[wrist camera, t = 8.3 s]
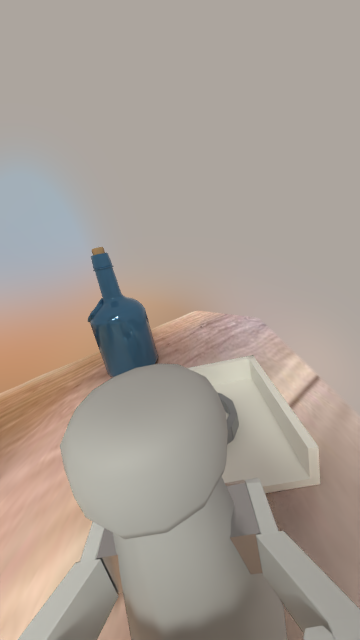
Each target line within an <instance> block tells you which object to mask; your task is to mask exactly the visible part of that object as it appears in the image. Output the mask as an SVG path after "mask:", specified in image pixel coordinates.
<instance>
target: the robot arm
mask: <svg viewBox="0 0 360 640" xmlns="http://www.w3.org/2000/svg"><path fill="white" fill-rule="evenodd" d="M225 485H226V487H227V489H228V491H229V493H230V495H231V497H232V499H233V501H234V503H235V504H234V509H233V513H232V518H231V535H230V539H231V541H232V543H233V544H234V546H235V548H236V549H237V551H238V553H239V554H240V556H241V558H242V560H243V562H244V563H245V565H246V567H247V569H248V571H249V573H250V574H259V573H263V576H264V577H265V579H266V580H267V581H268V583H269V584H270V586H271V587H272V589H273V590H274V592H275V593H276V594H277V596H278V597H279V599H280V600H281V602H282V603H283V604H284V606H285V607H286V609H287V610H288V612H289V613H290V614H291V616H292V617H293V619H294V620H295V622H296V623H297V624H298V626H299V627H300V629H301V630H302V632H303V633H304V637H303V638H304V640H360V609H359V608H358V607H357V606H356V605H355V604H354V603H353V602H352V601H351V600H350V599H349V598H348V596H347V595H346V594H345V593H344V592H343V591H342V590H341V589H340V588H339V587H338V586H337V585H336V584H335V583H334V582H333V581H332V580H331V579H330V578H329V577H328V576H327V575H326V574H325V573H324V572H323V571H322V570H321V569H320V568H319V567H318V566H317V565H316V564H315V563H314V562H313V561H312V560H311V559H310V558H309V556H308V555H307V554H306V553H305V552H304V551H303V550H302V549H301V548H300V547H299V546H298V545H297V544H296V543H295V542H294V541H293V540H292V539H291V538H290V537H289V536H288V535H287V534H286V533H285V532H284V531H278V528H277V525H276V522H275V519H274V517H273V514H272V511H271V508H270V506H269V503H268V500H267V497H266V495H265V492H264V489H263V486H262V484H261V481H260V479H259V478H253V479H247V480H239V481H233V482H228V483H225ZM121 593H123V589H122V583H121V577H120V571H119V561H118V554H117V553H116V548H115V542H114V536H113V533H112V532H111V531H109V530H107V529H105V528H103V527H102V526H100V525H98V524H96V523H95V522H92V525H91V529H90V532H89V535H88V538H87V541H86V544H85V547H84V550H83V554H82V557H81V560H80V562H76V563H75V564H74V565H73V567H72V568H71V569H70V571H69V572H68V573H67V575H66V576H65V577H64V579H63V580H62V581H61V583H60V584H59V585H58V587H57V588H56V589H55V591H54V592H53V593H52V595H51V596H50V597H49V599H48V600H47V601H46V603H45V604H44V605H43V607H42V608H41V609H40V611H39V612H38V613H37V615H36V616H35V617H34V619H33V620H32V621H31V623H30V624H29V625H28V627H27V628H26V629H25V631H24V632H23V633H22V635H21V636H20V637H19V639H18V640H97V639H98V636H99V634H100V632H101V630H102V628H103V626H104V624H105V622H106V620H107V618H108V616H109V614H110V612H111V610H112V608H113V606H114V604H115V602H116V600H117V598H118V594H121Z"/></svg>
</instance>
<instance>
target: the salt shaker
mask: <svg viewBox="0 0 360 640" xmlns="http://www.w3.org/2000/svg"><path fill="white" fill-rule="evenodd" d="M227 437H228V430H227V420H226V412H225V410H224V407H223V405H222V403H221V400H220V398H219V395H218V393H217V392H216V390H215V389H214V387H213V386H212V385H211V383H210V382H209V380H208V379H207V378H206V377H205V376H203V375H201V374H199V373H197V372H194V371H192V370H190V369H188V368H185V367H183V366H181V365H179V364H153V365H148V366H143V367H138V368H134V369H132V370H129V371H127V372H125V373H122V374H120V375H117V376H115V377H113V378H111V379H110V380H108V381H107V382H105V383H103V384H102V385H100V386H99V387H97V388H96V389H94V390H93V391H92V392H91V393H90V394H89V395H88V396H87V397H86V398H85V399H84V400H83V401H82V402H81V404H80V405H79V406H78V407H77V408H76V410H75V412H74V414H73V416H72V417H71V419H70V422H69V424H68V427H67V429H66V432H65V434H64V437H63V439H62V442H61V444H60V449H61V454H62V459H63V464H64V469H65V472H66V475H67V478H68V480H69V483H70V486H71V489H72V492H73V495H74V498H75V499H76V501H77V503H78V505H79V506H80V508H81V510H82V511H83V513H84V515H85V517H86V518H88V519H90V520H91V521H93V522H95V523H96V524H98V525H100V526H102V527H103V528H105V529H107V530H109V531H111V532H112V533H113V536H114V542H115V548H116V553H117V554H118V561H119V571H120V577H121V583H122V589H123V594H124V600H125V606H126V612H127V618H128V623H129V629H130V635H131V640H287V632H286V624H285V616H284V607H283V604H282V602H281V600H280V599H279V597H278V596H277V594H276V593H275V592H274V590H273V589H272V587H271V586H270V584H269V583H268V581H267V580H266V579H265V577H264V576H263V573H259V574H250V573H249V571H248V569H247V567H246V565H245V563H244V562H243V560H242V558H241V556H240V554H239V553H238V551H237V549H236V548H235V546H234V544H233V543H232V541H231V539H230V535H231V518H232V513H233V509H234V504H235V503H234V501H233V499H232V497H231V495H230V493H229V491H228V489H227V487H226V485H225V483H224V480H223V478H222V474H223V473H224V469H225V466H226V458H227Z"/></svg>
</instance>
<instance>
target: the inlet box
mask: <svg viewBox="0 0 360 640" xmlns="http://www.w3.org/2000/svg"><path fill="white" fill-rule="evenodd" d="M188 369H190V370H192V371H194V372H197V373H199V374H201V375H203V376H205V377H206V378H207V379H208V380H209V382H210V383H211V385H212V386H213V387H214V389H215V390H216V392H217V393H218V395H219V398H220V400H221V403H222V405H223V407H224V410H225V412H226V420H227V430H228V437H227V458H226V466H225V469H224V473H223V474H222V478H223V480H224V483H228V482H233V481H239V480H247V479H253V478H259V479H260V481H261V484H262V486H263V489H264V492H265V493H270V492H276V491H282V490H288V489H294V488H300V487H306V486H312V485H319V484H320V468H319V447H318V445H317V444H316V443H315V441H314V440H313V438H312V437H311V436H310V434H309V433H308V431H307V430H306V429H305V427H304V426H303V424H302V423H301V422H300V420H299V419H298V417H297V416H296V415H295V413H294V412H293V411H292V409H291V408H290V406H289V405H288V404H287V402H286V401H285V399H284V398H283V397H282V395H281V394H280V392H279V391H278V390H277V388H276V387H275V385H274V384H273V383H272V381H271V380H270V379H269V377H268V376H267V374H266V373H265V372H264V370H263V369H262V367H261V366H260V365H259V363H258V362H257V360H256V359H255V358H254V356H253V355H251V356H246V357H241V358H236V359H231V360H226V361H221V362H216V363H211V364H206V365H201V366H196V367H191V368H188Z"/></svg>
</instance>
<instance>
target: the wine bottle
mask: <svg viewBox="0 0 360 640" xmlns="http://www.w3.org/2000/svg"><path fill="white" fill-rule="evenodd" d="M92 253H93V256H91V259H92V263H93V268H94V271H95V272H96V276H97V279H98V283H99V286H100V290H101V293H102V297H103V298H101V300H100V301H99V303H98V304H97V306H96V307H95V309H94V310H93V311H92V312H91V314H90V316H89V317H88V322H90V323H91V327H92V330H93V333H94V336H95V338H96V341H97V344H98V347H99V350H100V353H101V355H102V358H103V361H104V364H105V367H106V369H107V372H108V375H110V376H111V377H115V376H117V375H120V374H122V373H125V372H127V371H129V370H132V369H134V368H138V367H143V366H148V365H153V364H155V363H156V361H157V359H158V355H157V351H156V348H155V344H154V340H153V337H152V333H151V329H150V326H149V322H148V318H147V315H146V311H145V308H144V307H143V305H142V304H141V303H139V302H138V301H137V300H135V299H132V298H128V297H125V296H123V295H122V294H121V292H120V289H119V286H118V283H117V280H116V277H115V274H114V271H113V268H112V267H113V266H112V263H111V260H110V258H109V256H108V254H107V253H105V252H104V248H103V247H99V248H94V249H92Z"/></svg>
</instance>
